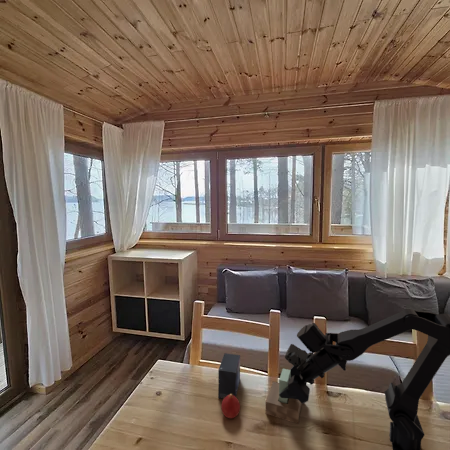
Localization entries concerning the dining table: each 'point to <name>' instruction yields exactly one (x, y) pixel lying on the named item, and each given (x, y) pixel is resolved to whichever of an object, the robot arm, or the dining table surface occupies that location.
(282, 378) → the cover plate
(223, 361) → the small box
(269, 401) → the slotted box
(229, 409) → the onion
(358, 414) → the dining table surface
